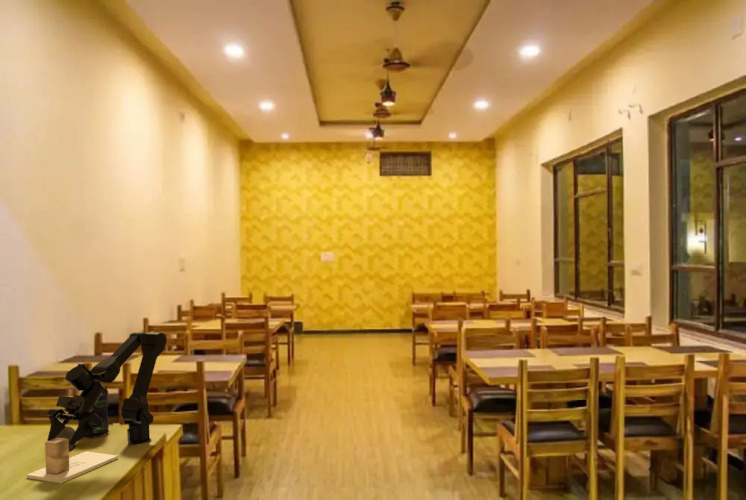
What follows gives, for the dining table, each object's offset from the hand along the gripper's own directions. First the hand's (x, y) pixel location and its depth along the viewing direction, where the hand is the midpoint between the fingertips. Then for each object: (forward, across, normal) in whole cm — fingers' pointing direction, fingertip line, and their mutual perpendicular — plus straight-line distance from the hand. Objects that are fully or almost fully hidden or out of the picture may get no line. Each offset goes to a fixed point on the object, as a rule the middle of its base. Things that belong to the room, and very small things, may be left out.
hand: (59, 443), depth 189 cm
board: (+3, 0, +10) cm, 11 cm away
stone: (-7, -21, +20) cm, 30 cm away
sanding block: (+6, 0, +5) cm, 8 cm away
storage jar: (-18, -23, +31) cm, 43 cm away
